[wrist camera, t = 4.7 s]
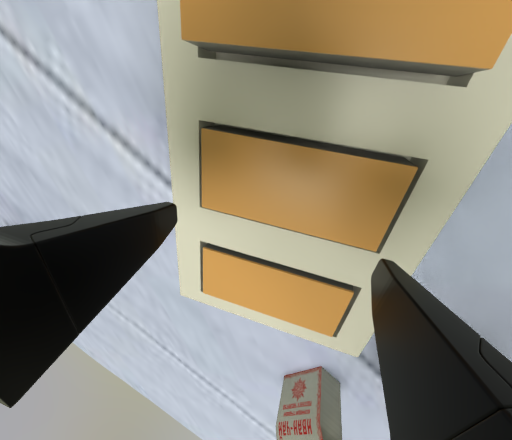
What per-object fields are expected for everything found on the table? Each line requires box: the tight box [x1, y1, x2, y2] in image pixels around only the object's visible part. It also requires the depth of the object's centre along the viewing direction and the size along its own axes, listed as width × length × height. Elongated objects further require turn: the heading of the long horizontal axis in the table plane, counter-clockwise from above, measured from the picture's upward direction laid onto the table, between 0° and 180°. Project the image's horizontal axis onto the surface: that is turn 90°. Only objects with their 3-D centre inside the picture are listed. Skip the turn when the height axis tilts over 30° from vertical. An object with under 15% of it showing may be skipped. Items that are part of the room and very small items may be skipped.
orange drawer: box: [201, 125, 418, 252], centre depth 16 cm, size 13×6×3 cm, turn 84°
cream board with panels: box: [157, 0, 512, 357], centre depth 16 cm, size 23×30×3 cm
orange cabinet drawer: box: [203, 243, 354, 337], centre depth 21 cm, size 13×6×3 cm, turn 83°
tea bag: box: [276, 366, 342, 440], centre depth 26 cm, size 4×7×10 cm, turn 138°
